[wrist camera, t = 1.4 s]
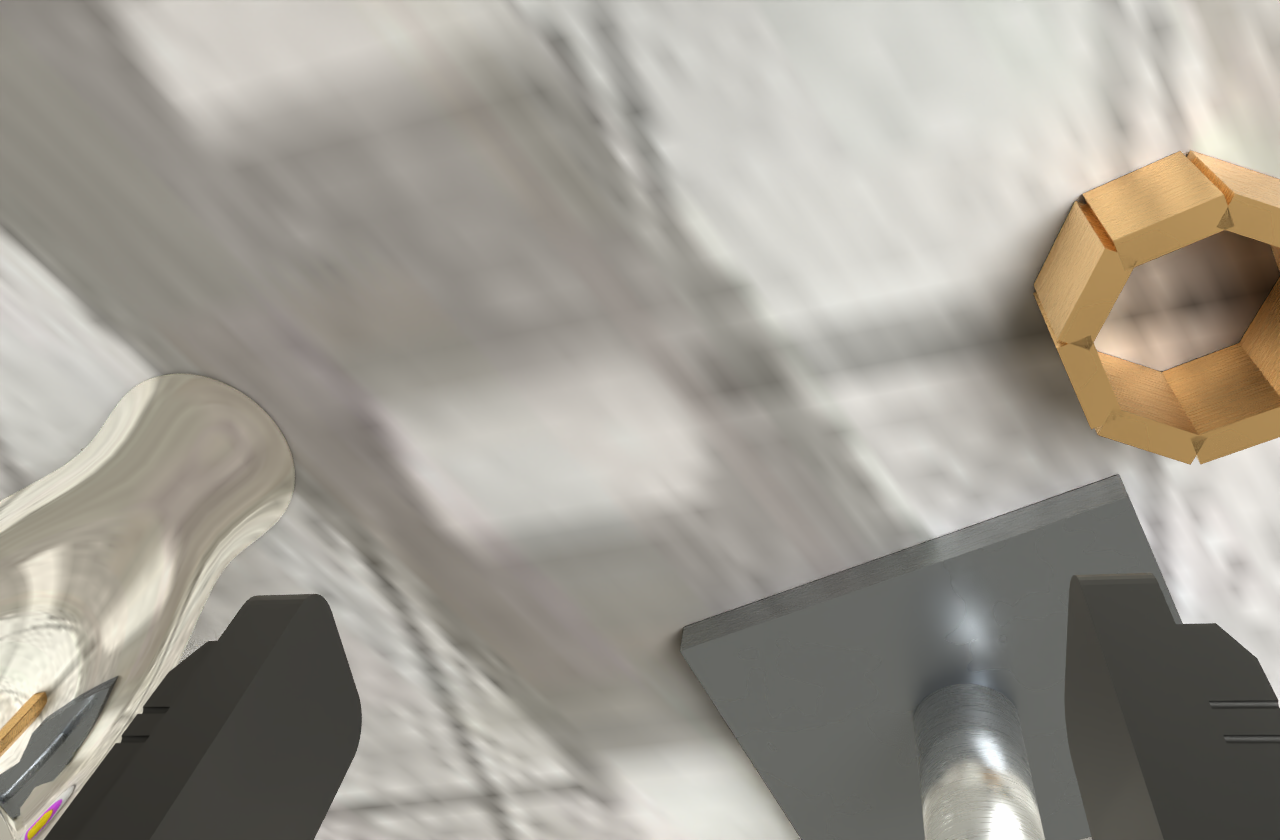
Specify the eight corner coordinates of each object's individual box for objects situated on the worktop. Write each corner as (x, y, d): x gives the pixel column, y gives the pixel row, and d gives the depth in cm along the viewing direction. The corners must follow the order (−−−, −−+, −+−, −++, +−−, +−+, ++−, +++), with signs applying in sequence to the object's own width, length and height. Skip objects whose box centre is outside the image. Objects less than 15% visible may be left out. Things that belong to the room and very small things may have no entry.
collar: (1266, 113, 27) (1321, 152, 24) (1337, 334, 30) (1396, 396, 27) (1005, 227, 29) (1026, 277, 26) (1090, 426, 32) (1118, 492, 29)
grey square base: (1119, 474, 32) (1189, 637, 26) (1243, 767, 37) (1330, 967, 30) (684, 627, 37) (655, 796, 31) (839, 871, 41) (842, 1062, 35)
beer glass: (300, 371, 35) (-16, 721, 22) (319, 559, 38) (54, 960, 25) (82, 346, 35) (-353, 670, 22) (119, 533, 39) (-240, 909, 26)
